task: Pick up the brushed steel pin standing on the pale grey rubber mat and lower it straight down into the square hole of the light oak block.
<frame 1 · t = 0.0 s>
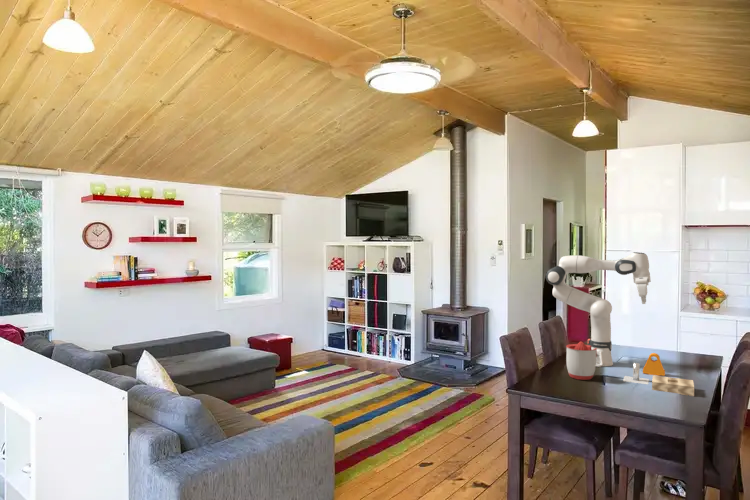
hand: (644, 303, 300), 39 cm above the table, fingers open, 8 cm apart
oak hole block: (672, 389, 259), on the table
citrus juicer: (582, 377, 281), on the table
bracket: (653, 374, 288), on the table
rubber mat: (636, 380, 275), on the table
steel pin: (636, 379, 275), resting on rubber mat
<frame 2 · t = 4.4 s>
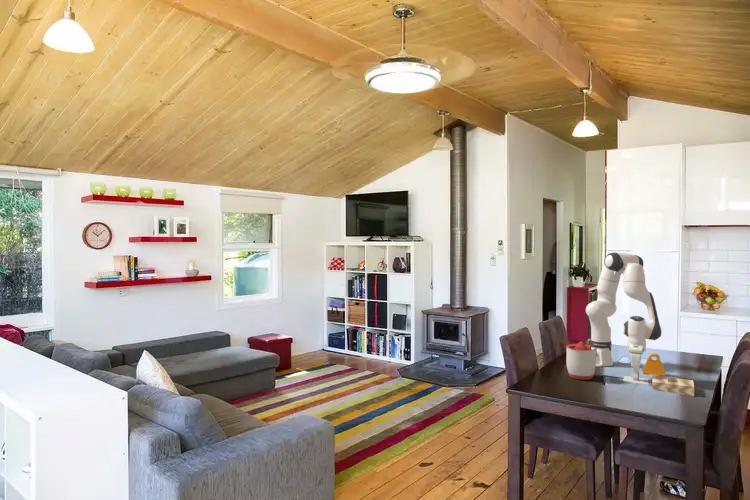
hand: (636, 372, 275), 4 cm above the table, fingers closed on steel pin, 3 cm apart
steel pin: (636, 379, 275), resting on rubber mat, touching gripper
everything else where it was.
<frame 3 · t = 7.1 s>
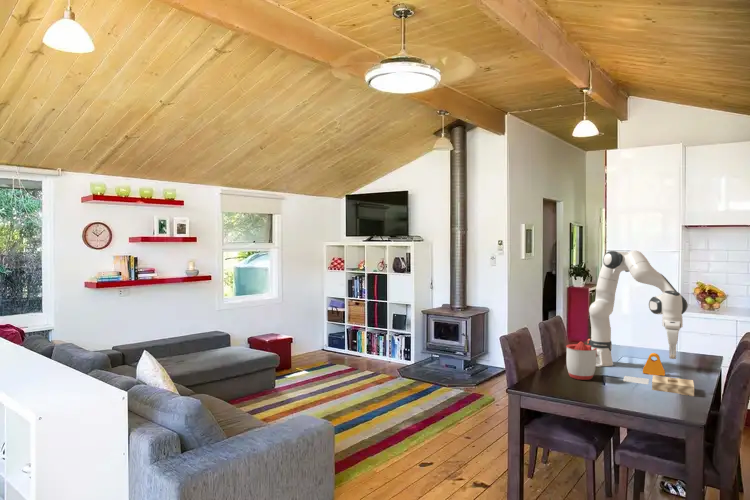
hand: (672, 350, 259), 20 cm above the table, fingers closed on steel pin, 3 cm apart
steel pin: (672, 358, 259), point 16 cm above the table, touching gripper
everything else where it was.
when the fingers open (6 cm above the table, at t = 10.1 s): steel pin drops 2 cm, resting in oak hole block.
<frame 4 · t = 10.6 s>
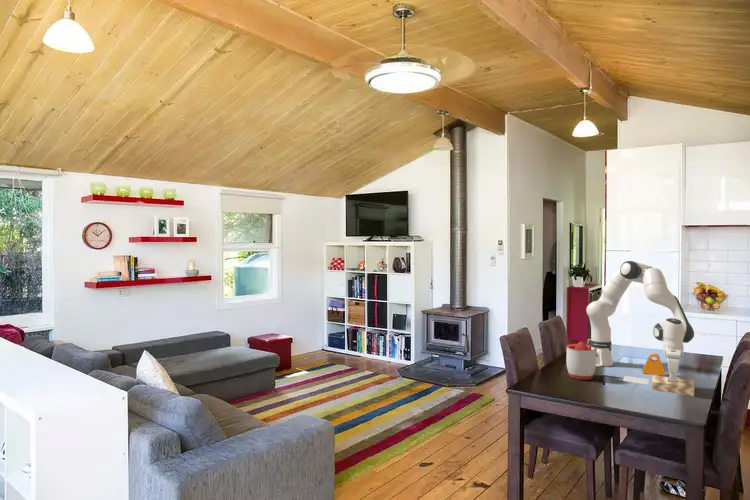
hand: (672, 378, 259), 6 cm above the table, fingers open, 8 cm apart
steel pin: (672, 389, 259), resting in oak hole block
everything else where it was.
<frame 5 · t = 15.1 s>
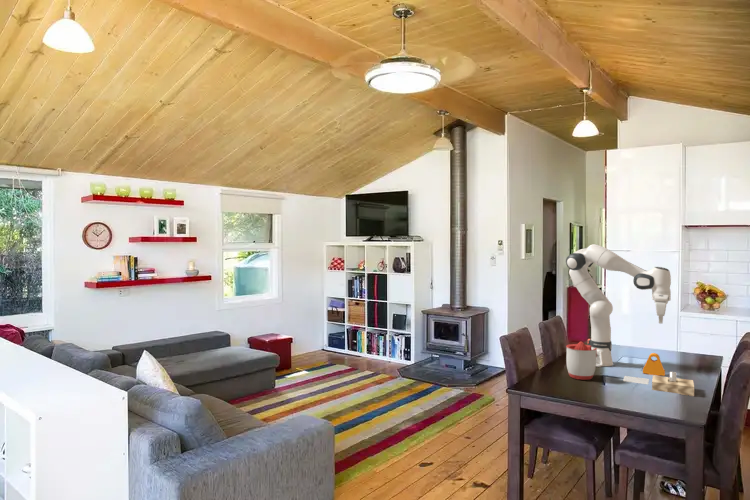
hand: (660, 322, 278), 31 cm above the table, fingers open, 8 cm apart
nothing on the table moved.
at the end: steel pin 0.0 cm off-centre on the oak hole block, point 0.0 cm above the oak hole block's base; steel pin tilted 0°; the gripper is holding nothing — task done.
